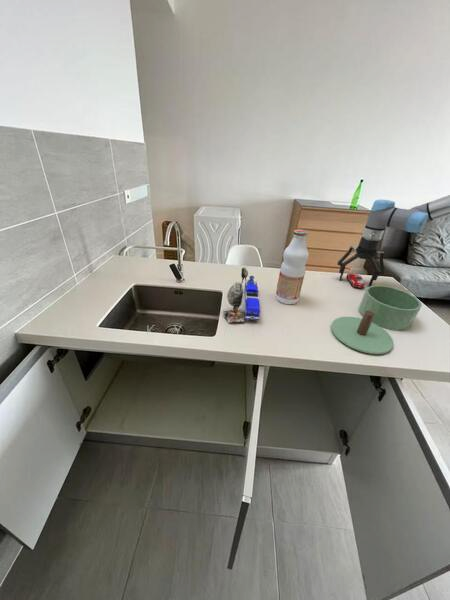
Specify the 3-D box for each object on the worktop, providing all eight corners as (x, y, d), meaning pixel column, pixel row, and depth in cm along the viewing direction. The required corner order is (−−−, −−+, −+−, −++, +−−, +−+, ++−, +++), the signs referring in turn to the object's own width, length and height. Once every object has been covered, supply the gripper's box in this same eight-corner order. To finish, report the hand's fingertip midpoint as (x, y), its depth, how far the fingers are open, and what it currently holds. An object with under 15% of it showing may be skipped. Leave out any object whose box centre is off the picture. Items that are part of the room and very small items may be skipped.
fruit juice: (282, 306, 95) (296, 235, 80) (271, 294, 103) (282, 227, 88) (302, 303, 98) (320, 234, 83) (290, 292, 105) (304, 227, 91)
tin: (407, 311, 97) (416, 292, 92) (414, 336, 83) (426, 315, 78) (358, 299, 103) (365, 281, 98) (358, 320, 89) (366, 301, 85)
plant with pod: (244, 307, 93) (249, 258, 83) (245, 325, 83) (252, 272, 73) (223, 306, 93) (225, 257, 82) (222, 324, 83) (225, 271, 73)
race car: (344, 276, 122) (347, 269, 120) (356, 277, 121) (358, 270, 119) (351, 288, 111) (354, 280, 109) (364, 290, 110) (367, 282, 108)
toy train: (255, 288, 106) (257, 272, 102) (258, 323, 85) (261, 304, 81) (243, 288, 106) (245, 271, 102) (244, 322, 85) (246, 303, 81)
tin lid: (389, 329, 86) (400, 307, 81) (394, 363, 71) (408, 340, 66) (333, 313, 92) (340, 292, 88) (327, 342, 78) (336, 319, 73)
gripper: (340, 235, 106) (327, 279, 117) (404, 246, 98) (383, 292, 109) (341, 231, 112) (328, 273, 123) (402, 241, 103) (382, 285, 115)
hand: (354, 282), depth 116 cm, fingers open, 12 cm apart
